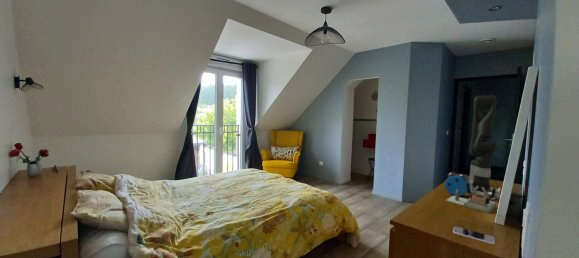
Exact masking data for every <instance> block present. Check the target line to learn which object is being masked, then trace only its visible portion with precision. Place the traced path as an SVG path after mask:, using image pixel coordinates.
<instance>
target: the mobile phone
mask: <svg viewBox="0 0 579 258" xmlns="http://www.w3.org/2000/svg"><path fill="white" fill-rule="evenodd" d="M452 232H453V233H454V234H456V235H460V236H462V237H467V238H470V239H473V240H478V241H481V242H485V243H488V244H490V245H491V244H492V245H495V244H496V240H495V237H494V236H493V235H489V234H486V233H482V232H478V231H475V230H470V229H466V228H464V227H460V226H453V230H452Z"/></svg>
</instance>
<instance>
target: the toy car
mask: <svg viewBox="0 0 579 258" xmlns="http://www.w3.org/2000/svg"><path fill="white" fill-rule="evenodd" d="M468 182H469V180H468ZM469 183H473V181H471V182H469ZM471 186H472V185H471ZM470 189H471V192H472V191H473V190H474V187H473V186H472V188H470ZM501 189H502V188H501V187H498V188H496V192H495V196H494V198H490V200H491V201H492V200H493V202H495V203H496V202H497V203H500V202H499V199H501V198H500V194H501ZM475 193H477V194H481V195H485V194H484V193H483V192H479V191H476V192H475ZM475 193H474V194H475ZM488 193H489V196H491V194H492V191H491V192H490V191H488ZM469 196H470V197H471V194H470V193H469Z"/></svg>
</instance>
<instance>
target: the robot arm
mask: <svg viewBox="0 0 579 258" xmlns="http://www.w3.org/2000/svg"><path fill="white" fill-rule="evenodd" d="M473 99H474V100H473V118H472V124H471V136H470V137H471V138H470V145H469V149H468V150H469V154H470V155H471V156H474V157H476V158H475V159H473V160H471V161H470V169H469V178H468V181H469V182H471V181H473V183H467V193H466V194H469V195H470V194H471V196H470V197H471V199H472V196H473V195H474V193H475V192H476V191H479V192H483V193H484V194H485V195H486V205H487V204H489V201H491V199H490V198H494V196H495V195H496V194H495V192H496V189H497V188H496V187H492V186H491V185H490V183H491V174H492V171H491V169H492V168H491V167H492V166H491V165H492V160H493V158H494V155H495V153H496V151H497V147H498V146H497V144H496V142H495V141H491V139H492V138H493V134H494V133H493V132H494V128H493V127H494V121H495V116H496V110H497V109H496V108H497V97H496V95H476V96H474V98H473ZM481 111H488V112H487V114H486V116H484V115H483V114H482V112H481ZM489 140H490V141H489ZM471 185H472V186H473V187H474V190H473V191H472V192H471V189H472V186H471ZM489 190H490V191H491V193H492V194H491V196H489V193H488V192H489Z"/></svg>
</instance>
